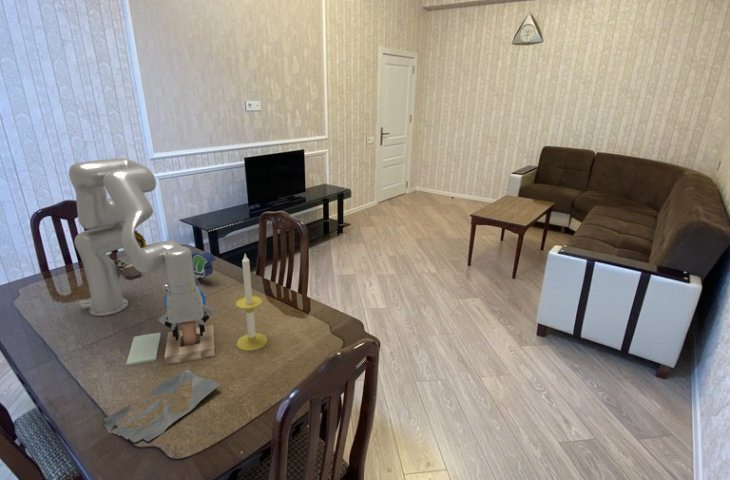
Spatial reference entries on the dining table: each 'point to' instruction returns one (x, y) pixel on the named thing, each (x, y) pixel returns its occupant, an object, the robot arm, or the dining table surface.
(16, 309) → the dining table surface
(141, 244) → the shrine
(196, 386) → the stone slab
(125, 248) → the robot arm
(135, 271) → the toy
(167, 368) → the dining table surface
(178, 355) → the pocket frame
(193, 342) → the peg
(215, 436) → the dining table surface
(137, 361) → the mat
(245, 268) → the candle
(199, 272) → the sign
